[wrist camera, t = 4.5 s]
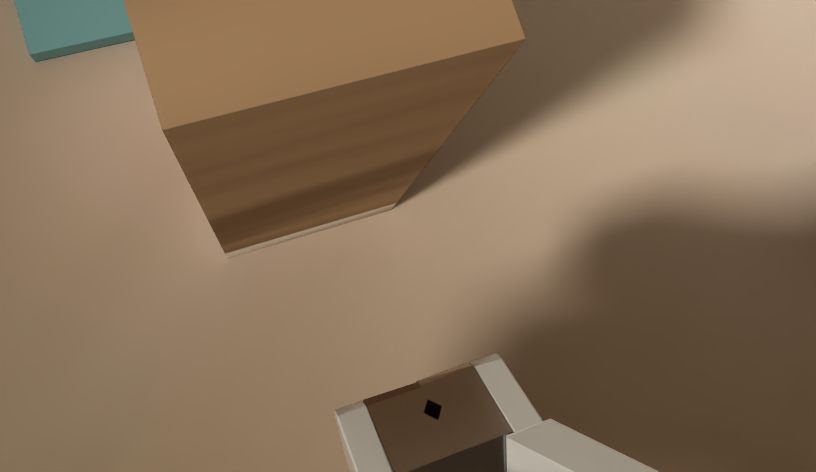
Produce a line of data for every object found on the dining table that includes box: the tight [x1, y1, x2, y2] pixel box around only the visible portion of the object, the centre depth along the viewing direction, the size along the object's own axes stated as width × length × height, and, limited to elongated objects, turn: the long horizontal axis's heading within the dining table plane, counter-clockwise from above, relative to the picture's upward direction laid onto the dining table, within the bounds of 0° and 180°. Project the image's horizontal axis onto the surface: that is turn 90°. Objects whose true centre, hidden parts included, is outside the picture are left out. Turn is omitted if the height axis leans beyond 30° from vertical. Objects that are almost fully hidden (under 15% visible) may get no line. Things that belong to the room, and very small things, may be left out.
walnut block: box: [123, 0, 526, 258], centre depth 15 cm, size 5×5×12 cm
